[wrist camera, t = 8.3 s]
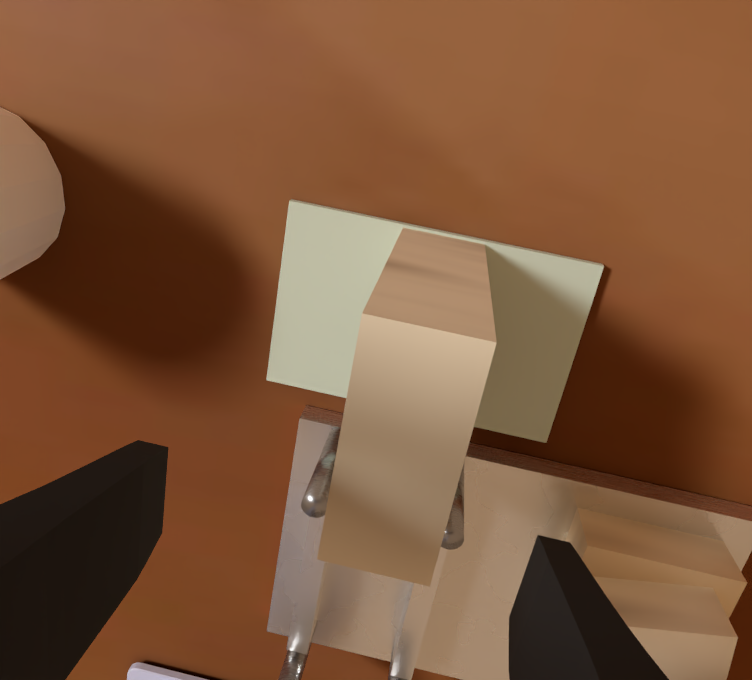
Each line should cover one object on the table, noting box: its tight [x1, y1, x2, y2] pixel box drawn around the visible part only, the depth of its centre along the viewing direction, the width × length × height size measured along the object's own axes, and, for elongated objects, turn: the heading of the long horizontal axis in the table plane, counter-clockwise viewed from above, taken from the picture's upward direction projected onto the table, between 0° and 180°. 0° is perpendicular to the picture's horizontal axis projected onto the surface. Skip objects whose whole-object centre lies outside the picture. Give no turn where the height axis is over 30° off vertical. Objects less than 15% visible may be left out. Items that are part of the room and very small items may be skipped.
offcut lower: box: [565, 508, 747, 619], centre depth 22 cm, size 8×5×2 cm, turn 170°
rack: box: [267, 405, 752, 680], centre depth 22 cm, size 10×16×5 cm, turn 80°
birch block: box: [317, 227, 497, 587], centre depth 17 cm, size 6×3×8 cm, turn 170°
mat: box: [266, 199, 604, 443], centre depth 21 cm, size 6×10×1 cm, turn 80°
